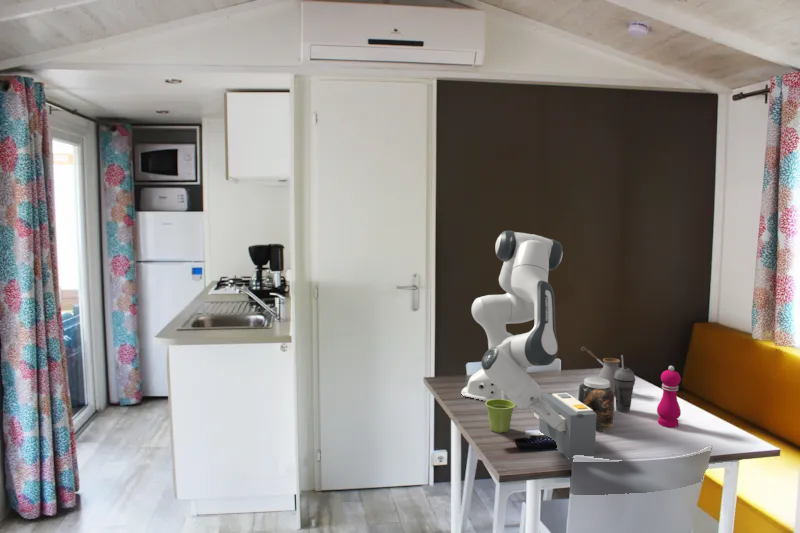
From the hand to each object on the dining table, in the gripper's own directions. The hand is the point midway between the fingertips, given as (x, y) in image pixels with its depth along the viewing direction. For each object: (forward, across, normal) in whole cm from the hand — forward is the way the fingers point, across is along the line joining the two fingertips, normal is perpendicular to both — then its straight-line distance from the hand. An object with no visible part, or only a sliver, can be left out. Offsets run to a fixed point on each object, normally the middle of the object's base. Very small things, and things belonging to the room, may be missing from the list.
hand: (554, 423), depth 176 cm
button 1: (+2, +10, 0) cm, 10 cm away
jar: (+23, +19, -11) cm, 32 cm away
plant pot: (0, +20, +13) cm, 24 cm away
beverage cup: (+35, +30, -23) cm, 51 cm away
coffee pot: (+39, +54, -26) cm, 72 cm away
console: (+11, +5, +2) cm, 12 cm away
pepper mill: (+40, +15, -28) cm, 51 cm away
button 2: (+3, 0, -1) cm, 4 cm away
